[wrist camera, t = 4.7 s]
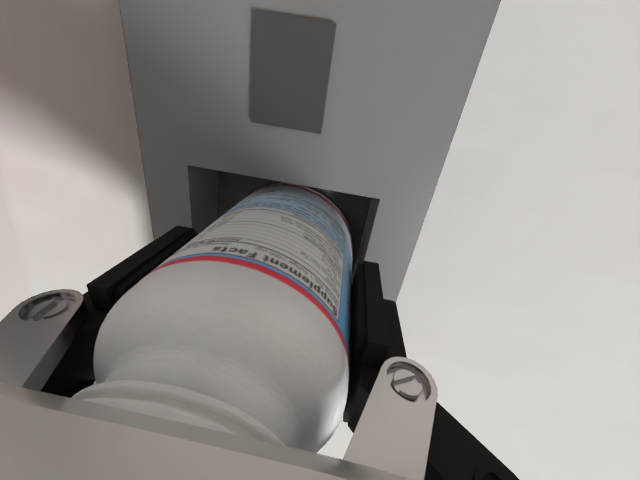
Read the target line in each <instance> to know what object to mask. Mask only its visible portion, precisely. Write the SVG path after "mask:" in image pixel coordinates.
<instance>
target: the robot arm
mask: <svg viewBox="0 0 640 480" xmlns="http://www.w3.org/2000/svg"><path fill="white" fill-rule="evenodd" d="M197 235H198V233H196V232H195V230H194V229H193V228H189V227H184V226H176V227H174V228H173V229H171V230H169V231H168V232H166V233H165V234H163V235H162V236H160V237H159V238H157V239H156V240H154V241H153V242H151V243H150V244H148V245H147V246H145V247H143V248H142V249H140V250H139V251H137V252H136V253H134V254H133V255H131V256H130V257H128V258H127V259H125V260H124V261H122V262H121V263H119V264H118V265H116V266H114V267H113V268H111V269H110V270H108V271H107V272H105V273H104V274H102V275H101V276H99V277H98V278H96V279H95V280H93V281H92V282H90V283H88V284H87V288H88V292H86V293H85V294H83V295H82V294H81V293H80V292H79V291H75V290H70V289H61V290H53V291H48V292H44V293H41V294H38V295H36V296H33V297H31V298H29V299H27V300H25V301H23V302H21V303H20V304H19V305H17V306H16V307H15V308H14V309H13V310H12V311H11V312H10V313H9V314H8V315H7V316H6V317H5V318H4V319H3V320H2V321H1V322H0V480H519V479H518V478H517V477H516V476H515V474H514V473H512V472H511V471H510V470H509V469H508V468H507V467H506V466H505V465H504V464H503V463H502V462H501V461H500V460H499V459H497V458H496V457H495V456H494V455H493V454H492V453H491V452H490V451H489V450H488V449H487V448H486V447H485V446H484V445H483V444H481V443H480V442H479V441H478V440H477V439H476V438H475V437H474V436H473V435H472V434H471V433H470V432H469V431H468V430H467V429H465V428H464V427H463V426H462V425H461V424H460V423H459V422H458V421H457V420H456V419H455V418H454V417H453V416H452V415H450V414H449V413H448V412H447V411H446V410H445V409H444V408H443V407H442V406H441V405H440V404H439V403H438V402H437V386H436V384H435V381H434V379H433V378H432V376H431V375H430V373H429V372H428V371H427V370H426V369H425V368H424V367H423V366H422V365H420V364H418V363H417V362H415V361H414V360H411V359H408V358H407V357H406V352H405V347H404V342H403V337H402V332H401V327H400V322H399V317H398V312H397V307H396V303H395V301H392V300H387V299H383V292H382V285H381V277H380V270H379V264H378V263H374V262H369V261H363V264H360V263H358V264H357V267H356V271H355V275H354V279H353V283H352V289H351V328H350V363H349V381H348V394H347V401H346V405H345V409H344V412H343V421H344V422H348V427H349V428H350V429H351V431H352V432H353V433H354V434H353V436H352V439H351V441H350V444H349V446H348V448H347V451H346V453H345V455H344V458H343V460H341V459H337V458H333V457H329V456H325V455H321V454H317V453H313V452H309V451H305V450H300V449H296V448H291V447H287V446H283V445H278V444H274V443H270V442H265V441H261V440H256V439H252V438H248V437H243V436H239V435H235V434H230V433H226V432H221V431H217V430H213V429H208V428H204V427H199V426H195V425H190V424H186V423H181V422H177V421H172V420H168V419H163V418H159V417H154V416H150V415H146V414H141V413H136V412H132V411H127V410H123V409H118V408H114V407H109V406H105V405H100V404H96V403H91V402H87V401H82V400H77V399H73V398H71V397H73V396H74V395H75V394H76V393H78V392H79V391H81V390H82V389H85V388H87V387H89V386H92V385H96V379H95V375H94V348H95V343H96V339H97V336H98V333H99V330H100V327H101V325H102V323H103V321H104V320H105V318H106V316H107V314H108V313H109V311H110V310H111V309H112V307H113V306H114V305H115V304H116V303H117V301H118V300H119V299H120V298H121V297H122V296H123V295H124V294H125V293H126V292H127V291H129V290H130V289H131V288H132V287H133V286H135V285H136V284H137V283H138V282H139V281H140V280H141V279H143V278H144V277H145V276H146V275H148V274H149V273H150V272H151V271H153V270H154V269H155V268H157V267H158V266H159V265H160V264H161V263H163V262H164V261H165V260H167V259H168V258H169V257H170V256H172V255H173V254H174V253H176V252H177V251H178V250H179V249H181V248H182V247H183V246H184V245H186V244H187V243H188V242H189V241H191V240H192V239H193V238H194V237H196V236H197Z"/></svg>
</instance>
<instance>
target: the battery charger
mask: <svg viewBox="0 0 640 480" xmlns="http://www.w3.org/2000/svg"><path fill="white" fill-rule="evenodd" d="M500 2H501V0H119V5H120V12H121V19H122V26H123V33H124V39H125V46H126V53H127V60H128V66H129V73H130V80H131V87H132V93H133V100H134V107H135V114H136V121H137V127H138V134H139V141H140V148H141V154H142V161H143V168H144V175H145V181H146V188H147V195H148V202H149V209H150V215H151V222H152V229H153V236H154V240H156V239H157V238H159V237H160V236H162V235H163V234H165V233H166V232H168V231H169V230H171V229H173V228H174V227H176V226H184V227H189V228H193V229H194V230H195V232H196V233H198V234H199V233H201V232H202V231H203V230H204V229H206V228H207V227H208V226H210V225H211V224H212V223H213V222H215V221H216V220H217V219H218V218H219V207H218V171H223V172H229V173H234V174H240V175H246V176H251V177H257V178H263V179H268V180H274V181H280V182H285V183H291V184H297V185H303V186H308V187H314V188H320V189H325V190H331V191H337V192H342V193H348V194H354V195H359V196H365V197H371V202H370V206H369V211H368V215H367V219H366V223H365V227H364V231H363V235H362V239H361V243H360V248H359V252H358V256H357V260H356V264H355V268H354V272H353V276H352V283H353V279H354V275H355V271H356V267H357V264H358V263H360V264H363V261H369V262H374V263H378V264H379V270H380V277H381V285H382V292H383V299H387V300H392V301H395V303H396V300H397V297H398V294H399V291H400V288H401V285H402V283H403V280H404V277H405V274H406V271H407V268H408V265H409V263H410V260H411V257H412V254H413V251H414V248H415V245H416V242H417V240H418V237H419V234H420V231H421V228H422V225H423V222H424V220H425V217H426V214H427V211H428V208H429V205H430V202H431V199H432V197H433V194H434V191H435V188H436V185H437V182H438V179H439V176H440V174H441V171H442V168H443V165H444V162H445V159H446V156H447V154H448V151H449V148H450V145H451V142H452V139H453V136H454V133H455V131H456V128H457V125H458V122H459V119H460V116H461V113H462V111H463V108H464V105H465V102H466V99H467V96H468V93H469V90H470V88H471V85H472V82H473V79H474V76H475V73H476V70H477V68H478V65H479V62H480V59H481V56H482V53H483V50H484V47H485V45H486V42H487V39H488V36H489V33H490V30H491V27H492V24H493V22H494V19H495V16H496V13H497V10H498V7H499V4H500Z"/></svg>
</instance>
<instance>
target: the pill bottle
mask: <svg viewBox="0 0 640 480" xmlns="http://www.w3.org/2000/svg"><path fill="white" fill-rule="evenodd" d="M352 253H353V246H352V236H351V231H350V227H349V225H348V222H347V220H346V219H345V217H344V215H343V214H342V212H341V211H340V210H339V209H338V207H337V206H336V205H335V204H334V203H333V202H331V201H330V200H329V199H328V198H326V197H325V196H324V195H322V194H320V193H319V192H317V191H315V190H313V189H310V188H308V187H305V186H302V185H297V184H291V183H276V184H270V185H267V186H264V187H261V188H259V189H257V190H255V191H254V192H252V193H251V194H249V195H248V196H246V197H245V198H244V199H242V200H241V201H240V202H239V203H237V204H236V205H235V206H234V207H232V208H231V209H230V210H229V211H227V212H226V213H225V214H224V215H222V216H221V217H220V218H218V219H217V220H216V221H215V222H213V223H212V224H211V225H210V226H208V227H207V228H206V229H204V230H203V231H202V232H201V233H199V234H198V235H197V236H196V237H194V238H193V239H192V240H191V241H189V242H188V243H187V244H186V245H184V246H183V247H182V248H181V249H179V250H178V251H177V252H176V253H174V254H173V255H172V256H170V257H169V258H168V259H167V260H165V261H164V262H163V263H161V264H160V265H159V266H158V267H157V268H155V269H154V270H153V271H151V272H150V273H149V274H148V275H146V276H145V277H144V278H143V279H141V280H140V281H139V282H138V283H137V284H136V285H135V286H133V287H132V288H131V289H130V290H129V291H127V292H126V293H125V294H124V295H123V296H122V297H121V298H120V299H119V300H118V301H117V303H116V304H115V305H114V306H113V307H112V309H111V310H110V311H109V313H108V314H107V316H106V318H105V320H104V321H103V323H102V325H101V327H100V330H99V333H98V336H97V339H96V343H95V348H94V375H95V379H96V385H92V386H89V387H87V388H85V389H82V390H81V391H79V392H78V393H76V394H75V395H74V396H73V397H71V398H73V399H77V400H82V401H87V402H91V403H96V404H100V405H105V406H109V407H114V408H118V409H123V410H127V411H132V412H136V413H141V414H146V415H150V416H154V417H159V418H163V419H168V420H172V421H177V422H181V423H186V424H190V425H195V426H199V427H204V428H208V429H213V430H217V431H221V432H226V433H230V434H235V435H239V436H243V437H248V438H252V439H256V440H261V441H265V442H270V443H274V444H278V445H283V446H287V447H291V448H296V449H300V450H305V451H309V452H313V453H317V452H318V451H319V450H320V449H321V448H322V447H323V446H324V445H325V444H326V442H327V441H328V440H329V439H330V438H331V436H332V435H333V433H334V431H335V430H336V428H337V426H338V424H339V422H340V420H341V418H342V415H343V412H344V409H345V405H346V401H347V394H348V381H349V363H350V328H351V289H352Z"/></svg>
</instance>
